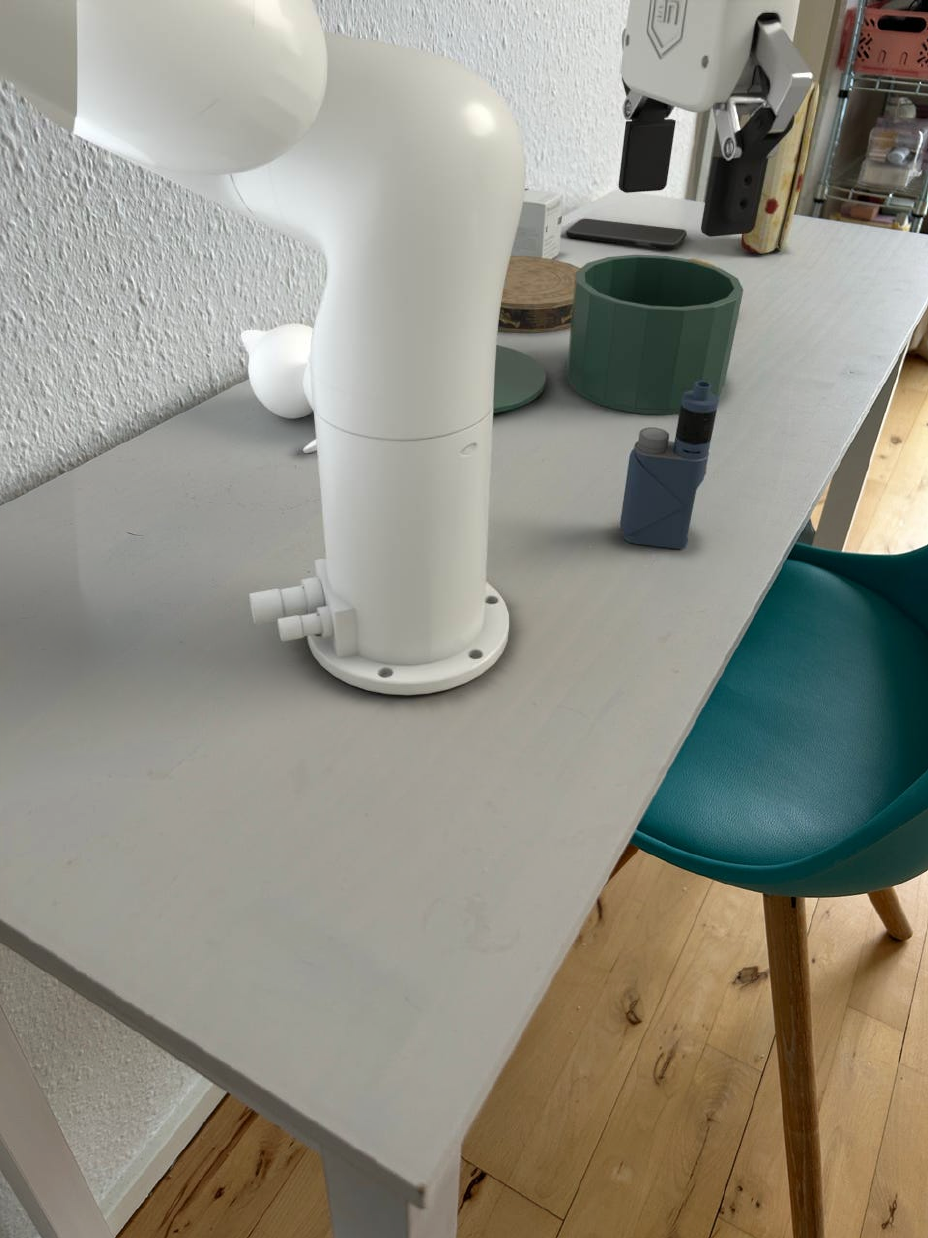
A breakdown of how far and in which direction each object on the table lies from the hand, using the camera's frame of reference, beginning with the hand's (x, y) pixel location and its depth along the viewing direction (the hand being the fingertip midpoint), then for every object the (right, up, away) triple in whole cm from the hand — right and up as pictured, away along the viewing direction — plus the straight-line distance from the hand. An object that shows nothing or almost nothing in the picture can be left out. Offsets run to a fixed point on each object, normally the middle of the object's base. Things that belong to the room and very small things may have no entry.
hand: (681, 210), depth 57 cm
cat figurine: (-26, -8, +25) cm, 37 cm away
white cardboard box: (-5, +21, +63) cm, 66 cm away
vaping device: (+1, -19, +12) cm, 22 cm away
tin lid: (-13, -2, +32) cm, 34 cm away
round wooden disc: (-7, +10, +49) cm, 51 cm away
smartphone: (+9, +26, +70) cm, 75 cm away
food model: (+26, +24, +67) cm, 76 cm away
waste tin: (+4, -2, +34) cm, 34 cm away
